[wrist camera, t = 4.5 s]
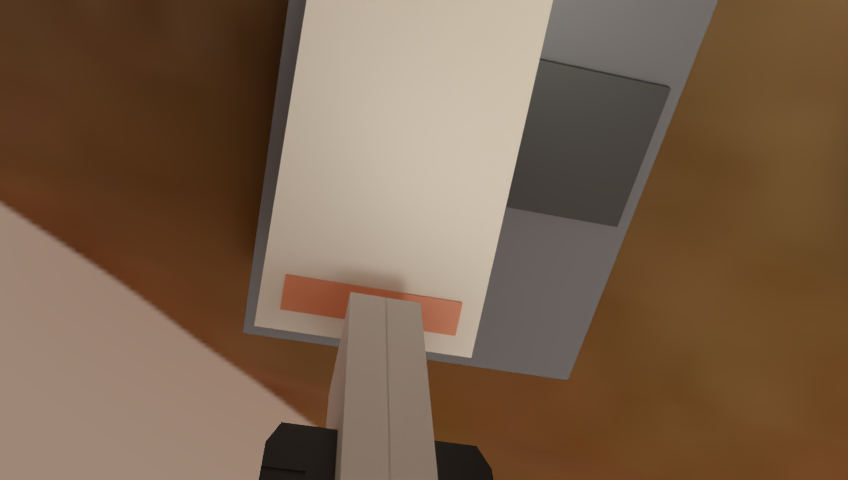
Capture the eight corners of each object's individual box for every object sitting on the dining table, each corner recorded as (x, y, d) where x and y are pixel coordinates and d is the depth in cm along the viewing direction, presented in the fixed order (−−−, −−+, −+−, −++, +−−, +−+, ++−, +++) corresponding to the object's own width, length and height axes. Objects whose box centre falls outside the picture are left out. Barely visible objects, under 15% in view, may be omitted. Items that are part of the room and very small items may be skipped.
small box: (323, -87, 16) (322, -103, 15) (542, -35, 17) (564, -45, 16) (260, 303, 18) (253, 327, 17) (460, 333, 19) (471, 359, 17)
